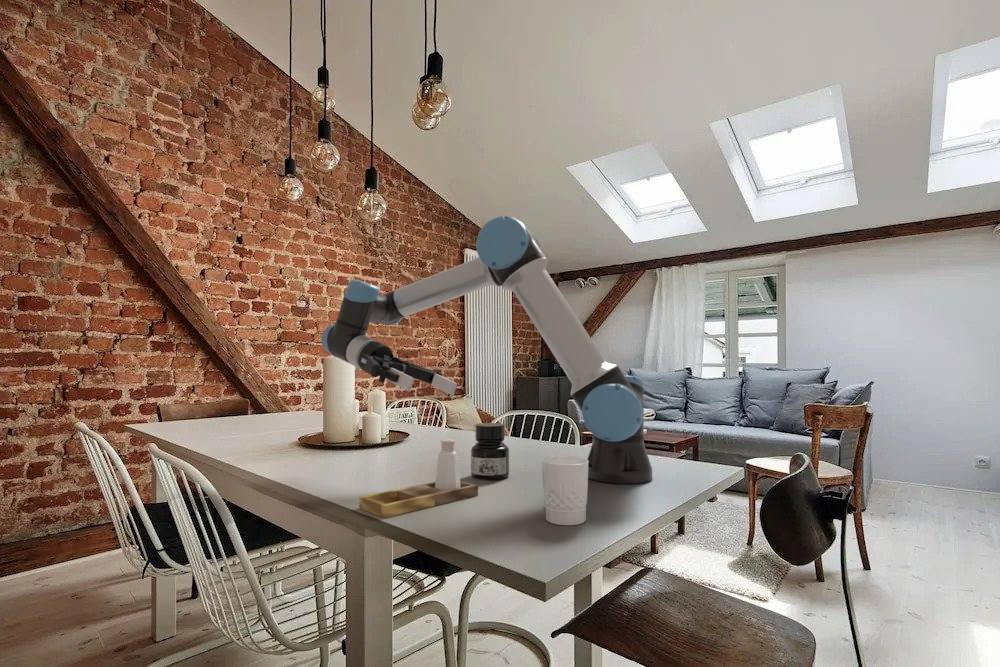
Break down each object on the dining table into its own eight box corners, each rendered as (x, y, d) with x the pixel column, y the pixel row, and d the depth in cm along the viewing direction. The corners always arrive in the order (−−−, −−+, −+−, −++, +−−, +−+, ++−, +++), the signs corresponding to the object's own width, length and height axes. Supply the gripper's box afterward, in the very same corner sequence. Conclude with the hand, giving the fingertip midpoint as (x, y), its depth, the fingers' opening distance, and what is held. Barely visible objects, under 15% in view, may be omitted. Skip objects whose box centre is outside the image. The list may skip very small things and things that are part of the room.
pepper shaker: (449, 490, 109) (449, 437, 110) (467, 495, 105) (467, 439, 106) (428, 495, 105) (428, 440, 106) (446, 500, 102) (446, 442, 102)
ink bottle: (464, 479, 119) (464, 426, 120) (474, 471, 128) (475, 421, 128) (506, 482, 117) (506, 427, 118) (514, 473, 126) (514, 422, 126)
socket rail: (451, 488, 111) (451, 478, 111) (478, 495, 105) (478, 485, 105) (359, 507, 96) (359, 496, 97) (384, 517, 90) (384, 506, 90)
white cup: (532, 520, 89) (532, 460, 89) (559, 510, 95) (559, 454, 95) (572, 530, 84) (572, 466, 84) (597, 519, 90) (597, 459, 90)
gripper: (404, 376, 132) (465, 406, 120) (320, 365, 112) (383, 401, 100) (413, 347, 132) (475, 375, 120) (331, 332, 112) (396, 363, 99)
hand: (434, 387), depth 110 cm, fingers open, 13 cm apart
